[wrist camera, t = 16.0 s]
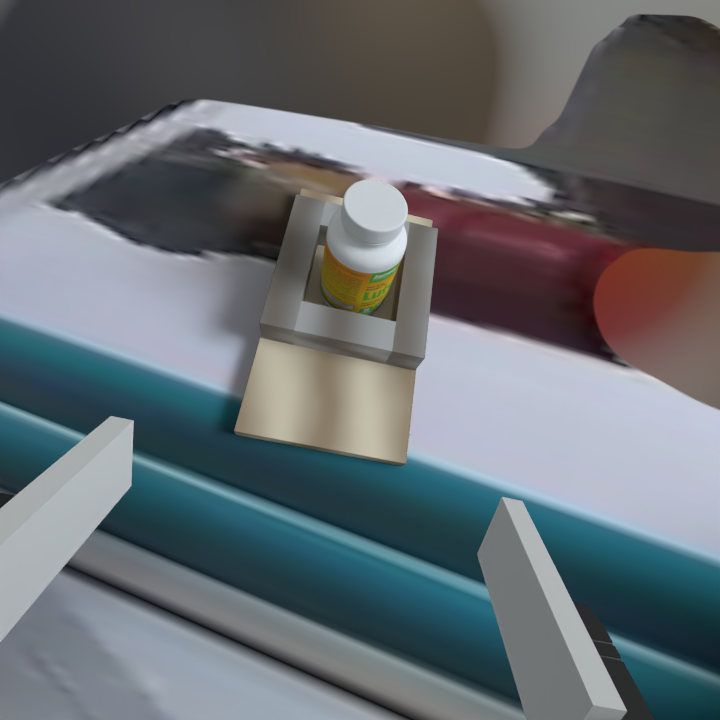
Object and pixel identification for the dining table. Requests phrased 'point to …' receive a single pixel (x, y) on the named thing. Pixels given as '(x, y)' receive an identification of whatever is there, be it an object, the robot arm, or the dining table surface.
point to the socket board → (329, 392)
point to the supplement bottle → (363, 247)
